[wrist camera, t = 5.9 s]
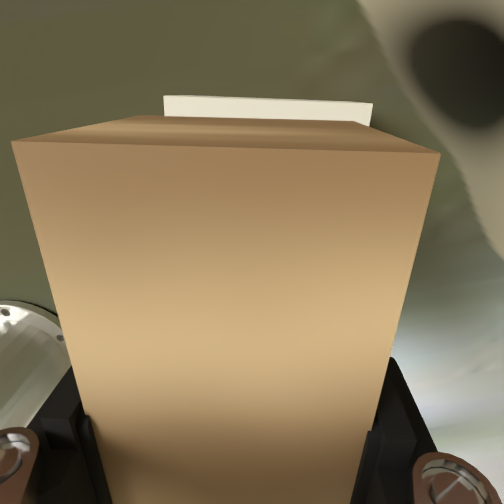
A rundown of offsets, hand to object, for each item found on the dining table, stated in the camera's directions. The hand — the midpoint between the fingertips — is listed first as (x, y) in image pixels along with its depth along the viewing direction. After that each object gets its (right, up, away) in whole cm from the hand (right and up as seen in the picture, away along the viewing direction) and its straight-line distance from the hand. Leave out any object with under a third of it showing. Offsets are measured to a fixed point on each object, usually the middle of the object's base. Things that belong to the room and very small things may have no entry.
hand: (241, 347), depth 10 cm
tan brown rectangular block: (0, +2, +4) cm, 5 cm away
